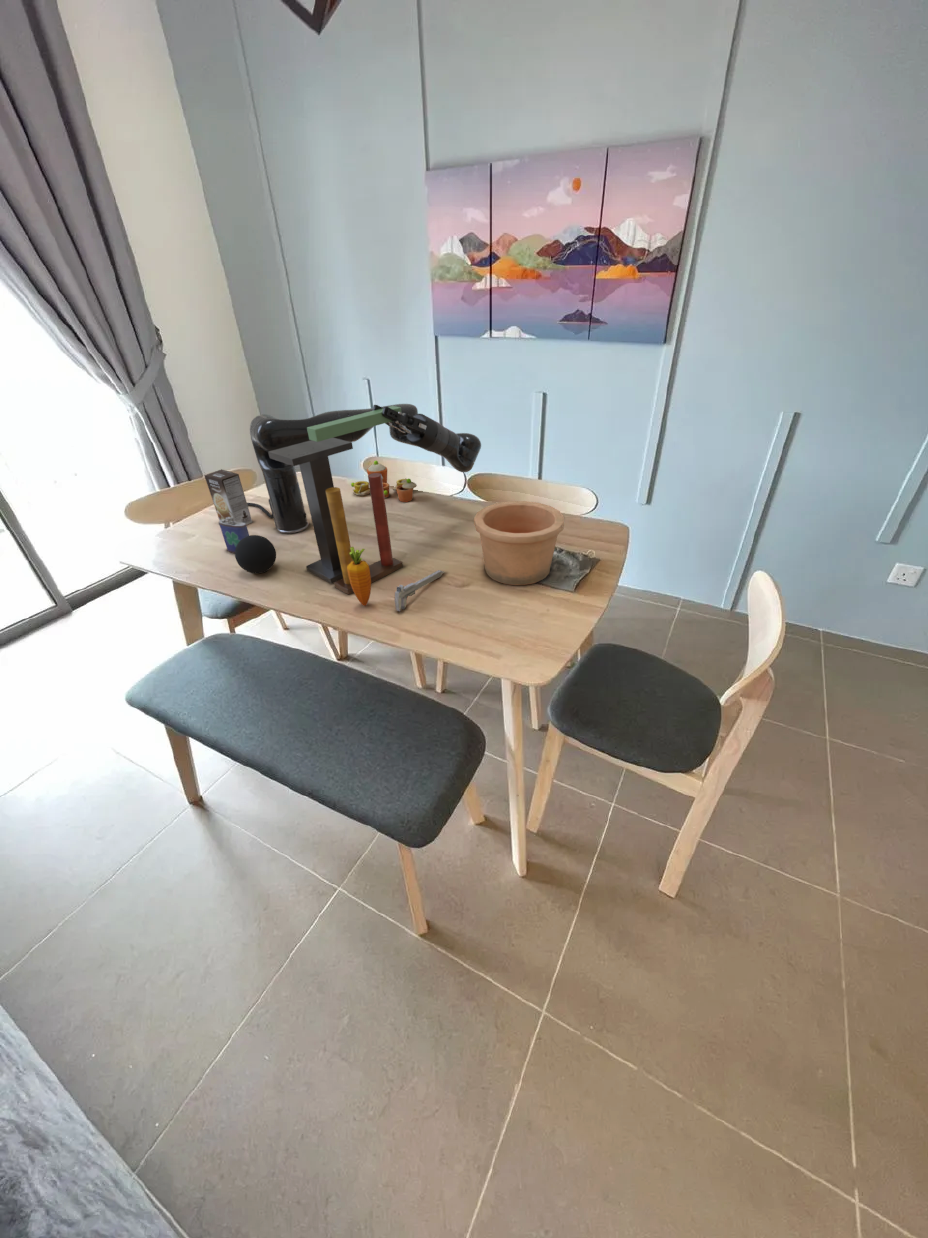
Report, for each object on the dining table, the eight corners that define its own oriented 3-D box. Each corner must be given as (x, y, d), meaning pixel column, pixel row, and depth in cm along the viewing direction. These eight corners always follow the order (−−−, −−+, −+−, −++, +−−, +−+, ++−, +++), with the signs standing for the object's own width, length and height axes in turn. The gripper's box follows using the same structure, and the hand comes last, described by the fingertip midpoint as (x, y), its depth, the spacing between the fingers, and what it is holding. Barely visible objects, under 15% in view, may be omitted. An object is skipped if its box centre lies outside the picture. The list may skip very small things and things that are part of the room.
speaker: (236, 570, 133) (224, 536, 127) (272, 558, 138) (263, 525, 132) (248, 584, 126) (236, 549, 120) (285, 571, 131) (276, 537, 125)
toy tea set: (347, 495, 177) (342, 468, 171) (372, 481, 188) (368, 456, 182) (408, 505, 166) (405, 477, 161) (431, 490, 178) (429, 463, 172)
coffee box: (219, 523, 159) (202, 474, 150) (236, 516, 164) (220, 468, 155) (237, 529, 155) (221, 479, 146) (253, 522, 160) (239, 473, 151)
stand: (348, 552, 139) (325, 435, 121) (372, 563, 133) (353, 442, 115) (298, 574, 129) (266, 451, 111) (323, 587, 123) (293, 459, 105)
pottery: (503, 600, 115) (504, 544, 107) (460, 562, 132) (458, 511, 123) (577, 576, 123) (583, 523, 115) (528, 543, 140) (530, 494, 131)
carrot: (355, 600, 118) (344, 543, 109) (376, 599, 118) (366, 542, 110) (353, 612, 114) (341, 554, 105) (374, 610, 114) (364, 552, 105)
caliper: (400, 613, 113) (396, 590, 109) (396, 612, 113) (392, 589, 109) (444, 573, 127) (443, 551, 124) (440, 572, 128) (439, 550, 124)
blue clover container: (256, 551, 142) (245, 516, 136) (249, 556, 139) (238, 520, 133) (232, 547, 145) (220, 513, 139) (224, 551, 142) (212, 517, 136)
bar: (393, 416, 119) (392, 405, 117) (402, 418, 117) (401, 407, 116) (309, 439, 104) (306, 427, 103) (317, 441, 103) (314, 429, 101)
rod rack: (389, 560, 134) (376, 469, 120) (403, 566, 131) (391, 473, 117) (335, 587, 123) (314, 490, 109) (348, 594, 120) (328, 496, 106)
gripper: (412, 416, 130) (363, 390, 116) (451, 423, 122) (403, 396, 108) (405, 444, 131) (355, 422, 118) (443, 453, 124) (394, 430, 110)
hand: (378, 409), depth 113 cm, fingers closed on bar, 3 cm apart
